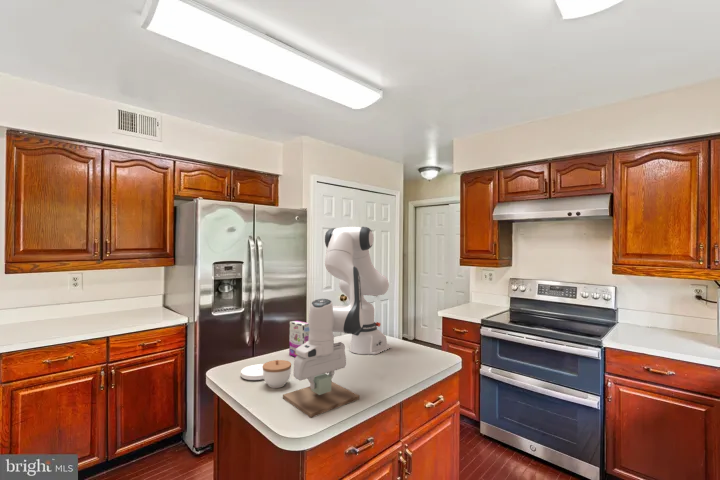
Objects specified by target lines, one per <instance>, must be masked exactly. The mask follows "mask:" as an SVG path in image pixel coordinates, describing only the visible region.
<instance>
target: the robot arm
mask: <svg viewBox="0 0 720 480" xmlns="http://www.w3.org/2000/svg"><path fill="white" fill-rule="evenodd" d="M324 243H325V244H324V245H325V247H326V248H327V249H326V253H325V254H326V255H325V259H324V266H325V269H326V270H327V272H328V273H329V274H330V275H331V276H333V277H334V278H336V279H338V280H339V283H338V285H339V286H338V287H339V290H340V291H341V292H342V293H343V294H344V295H345V296H346V297H347V298H348V300H349V304H348V305H333V302H332V300H331V299H328V298H319V299H315V300H313V301H311V303H310V306H309V313H308V323H309V329H310V334H309V341H307V342H306V343H304V344H303V345H301V346H299V347H298V348H296V354H297V356H296V358H295V357H294V362H293V377H294V378H295V379H296V380H298V381H304V380H307V381H308V382H309V384H310V387H311V389H316V388H317V384H316V383H315V382H314V381H313V380H314V377H315V376H318V375H321V374H327V375H329V376H331V383H332V382H333V378H334V375H335V371H337V370H341V369H345V368H346V366H347V356H346V346H345V344H344V343H343V342H342V341H339V342H334V341H335V336H334V333H344V334H349V335H351V341H350V346H349V352H351V353H354V354H359V355H378V354H380V352H381V353H383V352H385V351H387V349H388V350H390V349H392V345H391V344H389V343H388V341H387V336H386V334H384V333H383V332H381V331H380V330H379V329H378V327H379V328H380V326H381V322H377V321H375V307H374V305H373V304H371V303H370V302H369V301H367V300H366V298H365V297H364V296H374V297H375V296H376V297H377V296H383V295H385V294H387V291H388V290H389V287H390V286H389V280H388V278H387V277H386V276H385V275H384V274H382V273H380V272H379V271H378V270H377V269H376V267H375V266H374V265H373V263H372V258H371V255H370V249H371V248H372V247H373V244H374V234H373V231H372V229H371V228H369V227H367V226H343V227H333V228H329V229H328V230H327V231H326V232H325V235H324ZM389 348H390V349H389ZM384 350H385V351H384ZM382 351H383V352H382Z"/></svg>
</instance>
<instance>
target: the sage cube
mask: <svg viewBox="0 0 720 480" xmlns="http://www.w3.org/2000/svg"><path fill="white" fill-rule="evenodd" d="M313 381H314V382H315V383H316V384H317V388H316V389H311V390H312V391H313V392H315V393H317V394H318V395H321V394H324V393H327V392H330V391H331V376H329V375H328V373H325V374H321V375H318V376H315V377H314V380H313Z"/></svg>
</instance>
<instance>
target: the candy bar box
mask: <svg viewBox="0 0 720 480" xmlns="http://www.w3.org/2000/svg"><path fill="white" fill-rule="evenodd" d="M309 334H310V329H309V322H305V321H301V320H292V321H289V336H288V337H289V340H288V341H289V345H288V347H289V348H288V349H289V350H288V351H289V353H288V355H289V356H290V357H293V358H294V359H295V358H296V356H297V354H296V348H298V347H299V346H301V345H303V344H304V343H306V342H307V341H309Z"/></svg>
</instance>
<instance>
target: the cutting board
mask: <svg viewBox="0 0 720 480" xmlns="http://www.w3.org/2000/svg"><path fill="white" fill-rule="evenodd" d="M282 399H283V400H285V401H286V402H288V403H289V404H290V405H292V406H293V407H294V408H296V409H297V410H299V411H300V412H302V413H303V414H305V415H306V416H308V417H309V418H314V417H316V416H319V415H321V414H325V413H326V412H330V411H333V410H334V409H338V408H340V407H343V406H345V405H347V404H350V403H353V402H355V401H358V400H360V395H359V394H357V393H355V392H353V391H352V390H350V389H347V388H346V387H343V386H341V385H340V384H337V383H336V382H333V381H332V383H331V391H330V392H327V393H324V394H321V395H318V394H317V393H315V392H313V391H312V390H311V387H310V386H306V387H303V388H300V389H296V390H294V391H290V392H288V393H284V394H282Z"/></svg>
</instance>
